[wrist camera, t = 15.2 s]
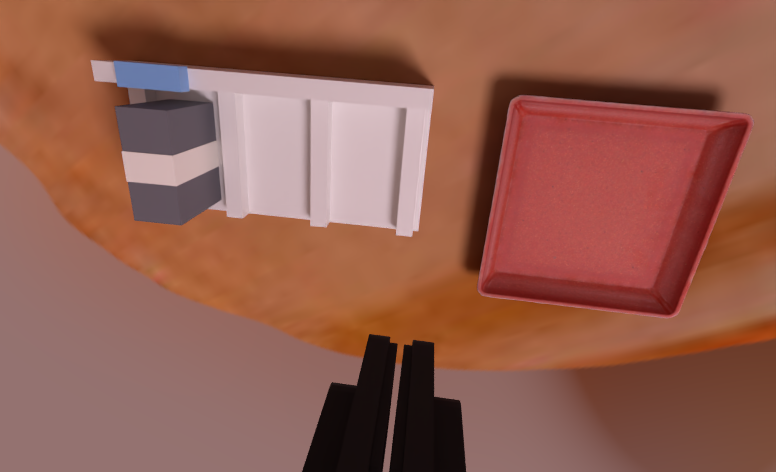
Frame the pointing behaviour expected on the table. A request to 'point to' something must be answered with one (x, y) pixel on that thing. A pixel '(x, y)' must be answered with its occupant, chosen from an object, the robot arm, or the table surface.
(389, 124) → the white ribbed panel
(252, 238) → the table surface
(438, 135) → the table surface
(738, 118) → the plant saucer
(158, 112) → the block
